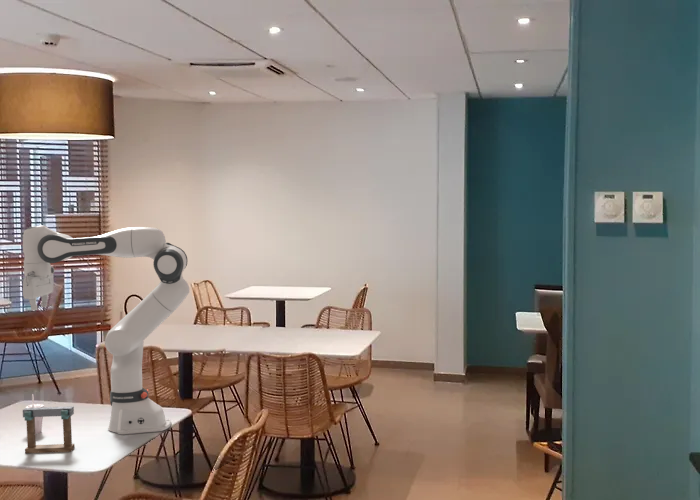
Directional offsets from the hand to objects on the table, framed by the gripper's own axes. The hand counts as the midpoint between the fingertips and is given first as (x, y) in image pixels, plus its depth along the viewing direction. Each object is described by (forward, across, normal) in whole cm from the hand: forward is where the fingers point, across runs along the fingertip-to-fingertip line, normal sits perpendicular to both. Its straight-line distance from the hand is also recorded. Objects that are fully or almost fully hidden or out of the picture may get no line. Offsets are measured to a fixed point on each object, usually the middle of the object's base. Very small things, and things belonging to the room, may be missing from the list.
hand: (39, 308), depth 274 cm
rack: (+46, -22, -9) cm, 52 cm away
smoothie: (+46, 0, +4) cm, 46 cm away
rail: (+34, -22, -10) cm, 41 cm away
